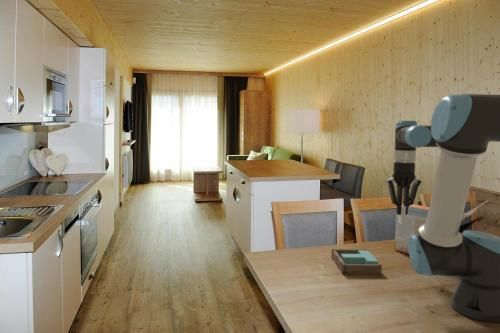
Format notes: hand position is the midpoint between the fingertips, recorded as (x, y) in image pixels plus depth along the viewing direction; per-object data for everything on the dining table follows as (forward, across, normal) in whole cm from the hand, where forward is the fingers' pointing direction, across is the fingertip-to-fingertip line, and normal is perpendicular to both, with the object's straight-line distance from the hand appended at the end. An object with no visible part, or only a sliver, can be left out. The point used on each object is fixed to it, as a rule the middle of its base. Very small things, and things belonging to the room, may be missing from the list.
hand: (401, 222), depth 149 cm
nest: (+17, +17, -1) cm, 24 cm away
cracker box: (+17, -12, -15) cm, 26 cm away
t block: (+17, +16, -1) cm, 24 cm away
